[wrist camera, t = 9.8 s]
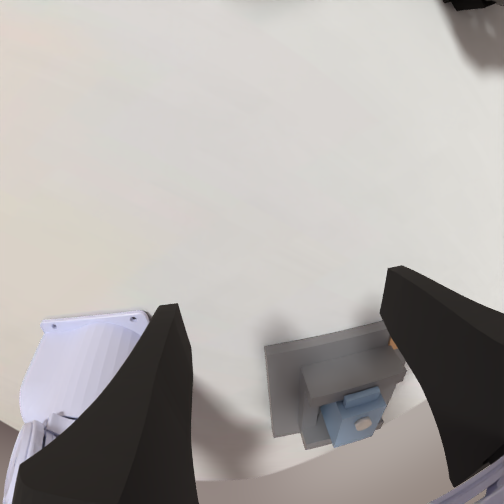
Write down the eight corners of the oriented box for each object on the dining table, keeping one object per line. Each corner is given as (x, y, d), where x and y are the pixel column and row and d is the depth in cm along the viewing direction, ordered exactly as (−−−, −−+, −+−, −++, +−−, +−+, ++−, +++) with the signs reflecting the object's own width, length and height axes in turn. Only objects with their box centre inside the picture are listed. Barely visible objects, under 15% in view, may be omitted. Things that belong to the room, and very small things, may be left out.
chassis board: (272, 430, 31) (279, 462, 27) (264, 346, 24) (274, 389, 20) (383, 402, 32) (396, 429, 28) (414, 311, 25) (439, 343, 21)
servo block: (319, 413, 29) (333, 457, 24) (325, 366, 25) (346, 418, 20) (353, 404, 29) (371, 445, 24) (367, 355, 25) (393, 403, 20)
